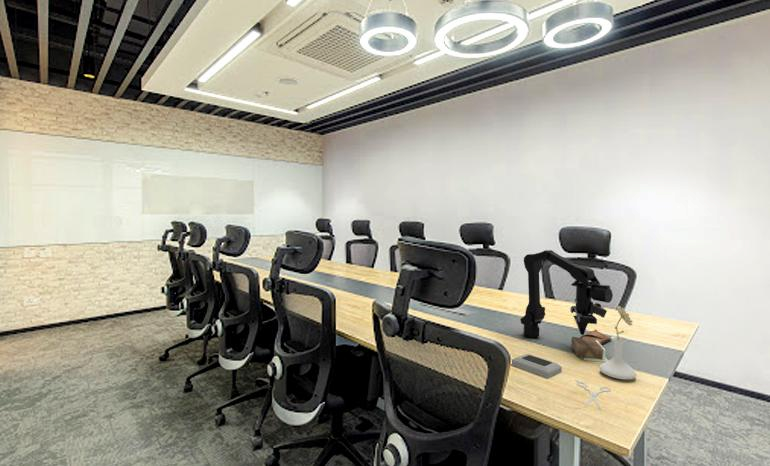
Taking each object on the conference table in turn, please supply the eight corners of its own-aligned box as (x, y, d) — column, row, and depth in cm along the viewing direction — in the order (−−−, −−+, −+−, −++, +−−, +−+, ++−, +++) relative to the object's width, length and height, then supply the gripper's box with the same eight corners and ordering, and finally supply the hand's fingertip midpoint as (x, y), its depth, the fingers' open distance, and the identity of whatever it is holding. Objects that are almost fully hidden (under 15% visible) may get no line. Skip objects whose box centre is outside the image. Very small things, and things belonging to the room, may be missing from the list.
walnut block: (578, 345, 150) (605, 350, 148) (572, 336, 162) (597, 340, 159) (577, 355, 151) (604, 359, 148) (571, 345, 162) (596, 349, 159)
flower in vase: (637, 385, 126) (640, 313, 125) (598, 377, 132) (601, 308, 131) (635, 372, 137) (638, 305, 136) (599, 365, 143) (602, 301, 142)
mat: (581, 359, 148) (581, 357, 148) (573, 346, 164) (573, 344, 164) (609, 362, 146) (609, 360, 146) (598, 348, 161) (598, 347, 161)
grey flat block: (524, 351, 148) (561, 363, 136) (524, 360, 148) (561, 373, 136) (511, 356, 142) (548, 369, 130) (510, 366, 142) (548, 380, 130)
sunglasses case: (599, 347, 160) (590, 332, 162) (584, 352, 164) (576, 338, 167) (612, 338, 172) (604, 325, 174) (598, 343, 177) (590, 330, 179)
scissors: (610, 386, 125) (614, 412, 107) (610, 388, 125) (614, 415, 107) (575, 379, 130) (573, 403, 112) (575, 381, 130) (573, 405, 112)
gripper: (612, 304, 143) (610, 343, 144) (598, 294, 161) (597, 329, 162) (580, 302, 146) (579, 340, 147) (570, 293, 164) (569, 327, 165)
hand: (582, 334), depth 155 cm, fingers closed
